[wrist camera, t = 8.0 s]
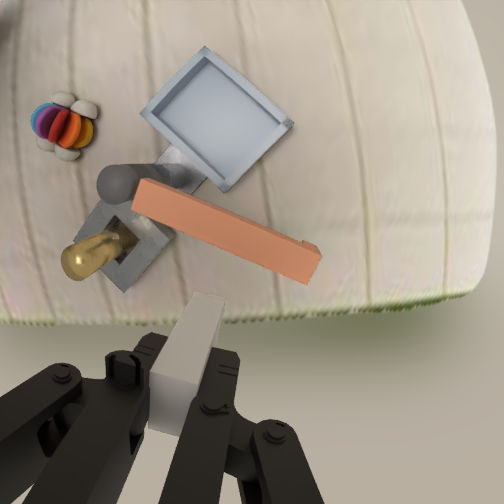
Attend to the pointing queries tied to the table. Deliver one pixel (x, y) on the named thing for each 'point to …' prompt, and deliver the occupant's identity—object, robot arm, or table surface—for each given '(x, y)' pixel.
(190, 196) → the swing bar
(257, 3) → the table surface
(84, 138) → the rainbow disc toy
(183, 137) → the tray
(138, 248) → the hitch block
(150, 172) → the gate post
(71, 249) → the pin
